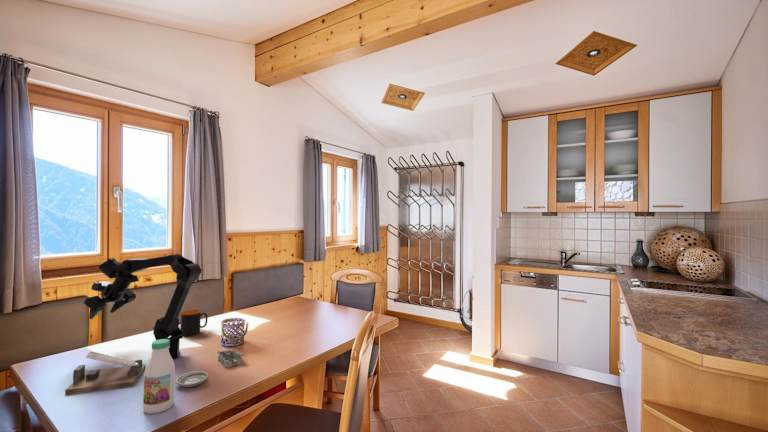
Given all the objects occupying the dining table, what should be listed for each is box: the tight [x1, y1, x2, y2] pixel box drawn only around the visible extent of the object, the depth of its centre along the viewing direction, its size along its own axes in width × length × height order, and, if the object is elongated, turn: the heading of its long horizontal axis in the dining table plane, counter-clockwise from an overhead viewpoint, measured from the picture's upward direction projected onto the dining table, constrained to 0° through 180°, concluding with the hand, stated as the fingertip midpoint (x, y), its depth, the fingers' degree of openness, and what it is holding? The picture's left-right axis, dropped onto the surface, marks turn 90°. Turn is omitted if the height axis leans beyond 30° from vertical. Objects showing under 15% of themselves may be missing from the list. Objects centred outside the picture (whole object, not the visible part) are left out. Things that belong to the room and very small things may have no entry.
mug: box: [180, 309, 208, 338], centre depth 164 cm, size 8×12×10 cm
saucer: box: [175, 370, 209, 388], centre depth 116 cm, size 10×10×2 cm
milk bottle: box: [142, 339, 176, 415], centre depth 101 cm, size 8×8×20 cm
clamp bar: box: [85, 351, 140, 368], centre depth 117 cm, size 16×3×1 cm, turn 112°
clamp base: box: [64, 359, 147, 395], centre depth 116 cm, size 18×14×6 cm
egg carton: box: [216, 349, 244, 368], centre depth 134 cm, size 11×8×4 cm
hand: (101, 315), depth 140 cm, fingers open, 9 cm apart
